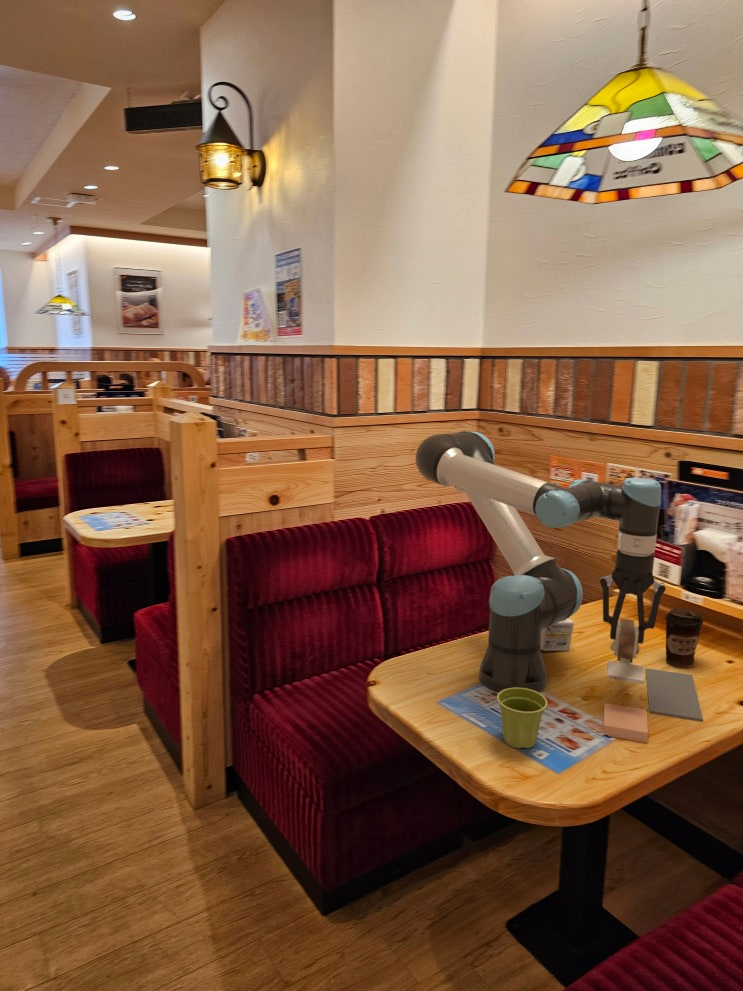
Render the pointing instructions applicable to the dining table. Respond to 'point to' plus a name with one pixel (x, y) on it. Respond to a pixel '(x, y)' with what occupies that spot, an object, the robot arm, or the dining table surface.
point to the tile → (625, 723)
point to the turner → (626, 656)
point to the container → (557, 636)
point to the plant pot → (521, 715)
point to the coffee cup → (682, 636)
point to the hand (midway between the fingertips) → (624, 654)
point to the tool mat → (672, 694)
